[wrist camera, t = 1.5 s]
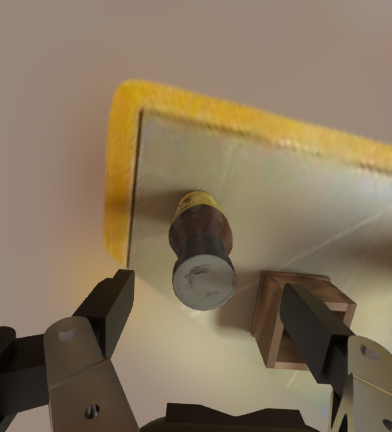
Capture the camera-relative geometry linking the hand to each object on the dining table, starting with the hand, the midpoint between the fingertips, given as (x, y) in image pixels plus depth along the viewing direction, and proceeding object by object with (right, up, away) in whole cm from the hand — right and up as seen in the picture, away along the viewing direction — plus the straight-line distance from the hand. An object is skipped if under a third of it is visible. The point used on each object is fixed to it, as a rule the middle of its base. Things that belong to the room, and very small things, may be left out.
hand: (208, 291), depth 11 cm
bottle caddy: (+15, -11, +25) cm, 31 cm away
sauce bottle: (0, +5, +21) cm, 22 cm away
